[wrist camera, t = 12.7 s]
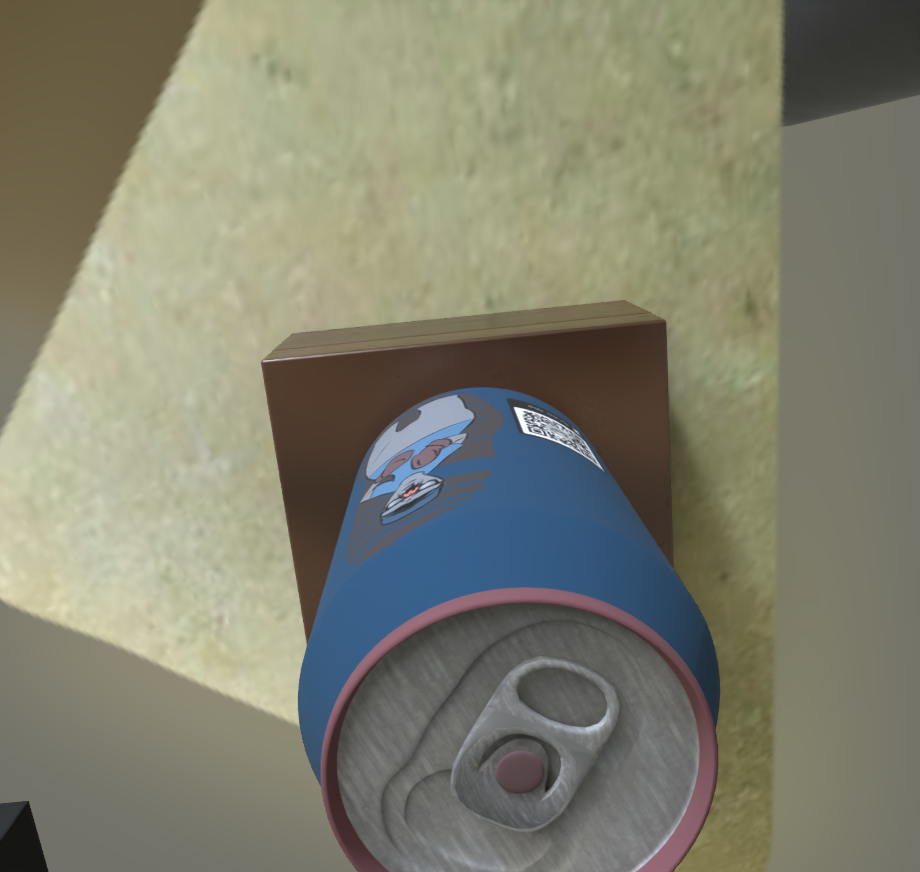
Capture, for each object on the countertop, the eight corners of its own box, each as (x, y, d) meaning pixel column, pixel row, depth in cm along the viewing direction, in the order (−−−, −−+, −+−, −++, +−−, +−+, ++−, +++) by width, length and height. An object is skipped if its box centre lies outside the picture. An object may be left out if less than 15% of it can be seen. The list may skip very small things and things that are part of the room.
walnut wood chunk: (291, 333, 27) (259, 360, 22) (625, 299, 27) (667, 319, 22) (329, 584, 29) (308, 657, 25) (636, 553, 29) (675, 620, 25)
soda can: (527, 645, 25) (609, 1031, 13) (314, 548, 24) (200, 873, 12) (645, 445, 23) (858, 682, 11) (424, 333, 22) (412, 468, 10)
